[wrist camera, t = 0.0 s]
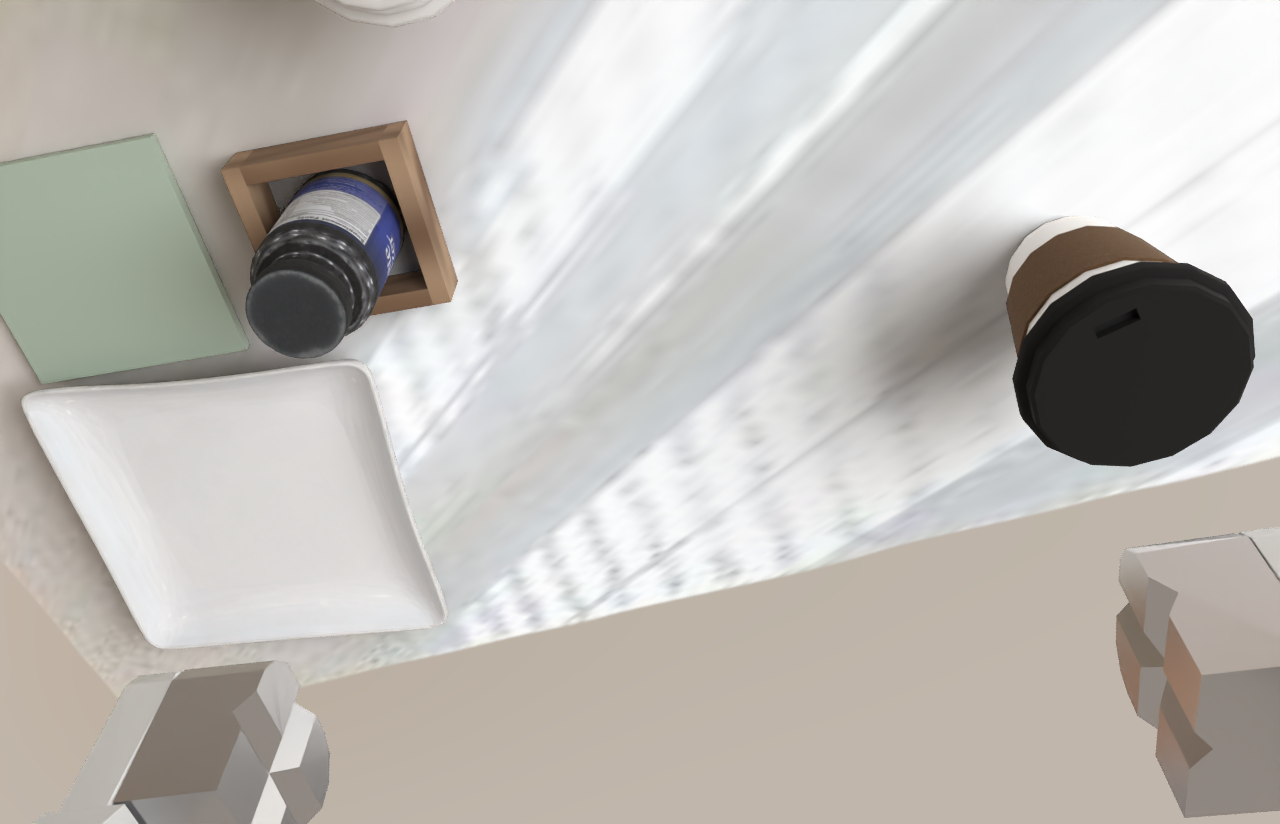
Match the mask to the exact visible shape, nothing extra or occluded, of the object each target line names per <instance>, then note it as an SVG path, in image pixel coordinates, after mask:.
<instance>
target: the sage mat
mask: <svg viewBox="0 0 1280 824" xmlns="http://www.w3.org/2000/svg"><path fill="white" fill-rule="evenodd" d="M0 314H1V315H2V317H3V319H4V321H5V322H6V324H7V326H8V327H9V329H10V331H11V333H12V334H13V336H14V338H15V339H16V341H17V343H18V345H19V346H20V348H21V350H22V351H23V353H24V355H25V357H26V358H27V360H28V362H29V363H30V365H31V367H32V368H33V370H34V372H35V374H36V375H37V377H38V379H39V380H40V382H41V384H47V383H53V382H59V381H65V380H71V379H77V378H83V377H89V376H95V375H101V374H107V373H113V372H118V371H124V370H130V369H136V368H142V367H148V366H154V365H160V364H166V363H172V362H178V361H184V360H190V359H196V358H202V357H208V356H214V355H220V354H226V353H232V352H238V351H244V350H247V349H248V347H249V345H250V344H249V342H248V340H247V337H246V335H245V333H244V331H243V329H242V326H241V324H240V322H239V320H238V317H237V315H236V313H235V311H234V309H233V306H232V304H231V302H230V300H229V298H228V295H227V293H226V291H225V289H224V286H223V284H222V282H221V280H220V278H219V275H218V273H217V271H216V269H215V266H214V264H213V262H212V260H211V258H210V255H209V253H208V251H207V249H206V246H205V244H204V242H203V240H202V238H201V235H200V233H199V231H198V229H197V226H196V224H195V222H194V220H193V218H192V215H191V213H190V211H189V209H188V206H187V204H186V202H185V200H184V198H183V195H182V193H181V191H180V189H179V187H178V184H177V182H176V180H175V178H174V175H173V173H172V171H171V169H170V167H169V164H168V162H167V160H166V158H165V155H164V153H163V151H162V149H161V147H160V144H159V142H158V140H157V138H156V135H155V133H153V134H148V135H143V136H138V137H133V138H128V139H122V140H117V141H112V142H107V143H102V144H97V145H92V146H86V147H81V148H76V149H71V150H66V151H61V152H55V153H50V154H45V155H40V156H35V157H30V158H24V159H19V160H14V161H9V162H4V163H0Z"/></svg>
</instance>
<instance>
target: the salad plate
mask: <svg viewBox="0 0 1280 824" xmlns="http://www.w3.org/2000/svg"><path fill="white" fill-rule="evenodd" d="M21 405H22V408H23V411H24V413H25V416H26V418H27V420H28V422H29V424H30V426H31V429H32V431H33V433H34V434H35V436H36V438H37V440H38V442H39V444H40V446H41V448H42V450H43V452H44V453H45V455H46V457H47V459H48V461H49V463H50V464H51V466H52V468H53V470H54V472H55V474H56V475H57V477H58V479H59V481H60V483H61V485H62V486H63V488H64V490H65V492H66V494H67V496H68V497H69V499H70V501H71V503H72V504H73V506H74V508H75V510H76V512H77V514H78V515H79V517H80V519H81V521H82V523H83V524H84V526H85V528H86V530H87V532H88V533H89V535H90V537H91V539H92V541H93V543H94V544H95V546H96V548H97V550H98V552H99V554H100V556H101V557H102V559H103V561H104V563H105V565H106V567H107V568H108V570H109V572H110V574H111V576H112V578H113V580H114V582H115V584H116V586H117V588H118V590H119V592H120V593H121V595H122V597H123V599H124V601H125V603H126V605H127V607H128V609H129V611H130V613H131V615H132V616H133V618H134V620H135V622H136V624H137V626H138V627H139V629H140V631H141V633H142V634H143V636H144V637H145V639H146V640H147V641H148V642H149V644H151V645H152V646H154V647H156V648H159V649H185V648H198V647H209V646H220V645H233V644H244V643H256V642H268V641H279V640H290V639H302V638H314V637H327V636H340V635H353V634H366V633H381V632H397V631H410V630H420V629H427V628H433V627H436V626H440V625H442V624H444V623H445V622H446V620H447V618H448V608H447V605H446V602H445V598H444V595H443V593H442V590H441V587H440V585H439V582H438V580H437V577H436V574H435V572H434V569H433V567H432V564H431V562H430V560H429V557H428V555H427V552H426V549H425V547H424V544H423V541H422V539H421V536H420V533H419V530H418V528H417V525H416V522H415V519H414V516H413V513H412V510H411V507H410V505H409V502H408V498H407V495H406V492H405V488H404V485H403V481H402V478H401V474H400V471H399V467H398V464H397V460H396V456H395V453H394V449H393V445H392V441H391V438H390V434H389V430H388V426H387V422H386V418H385V415H384V411H383V407H382V403H381V400H380V396H379V393H378V390H377V386H376V384H375V381H374V378H373V375H372V373H371V371H370V369H369V368H368V367H367V366H366V365H365V364H364V363H363V362H361V361H359V360H356V359H344V360H335V361H329V362H320V363H313V364H305V365H298V366H292V367H285V368H278V369H272V370H265V371H259V372H252V373H244V374H236V375H228V376H219V377H211V378H201V379H191V380H180V381H169V382H158V383H142V384H124V385H96V386H74V387H60V388H51V389H43V390H36V391H33V392H30V393H28V394H26V395H25V396H23V397H22V399H21Z"/></svg>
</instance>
